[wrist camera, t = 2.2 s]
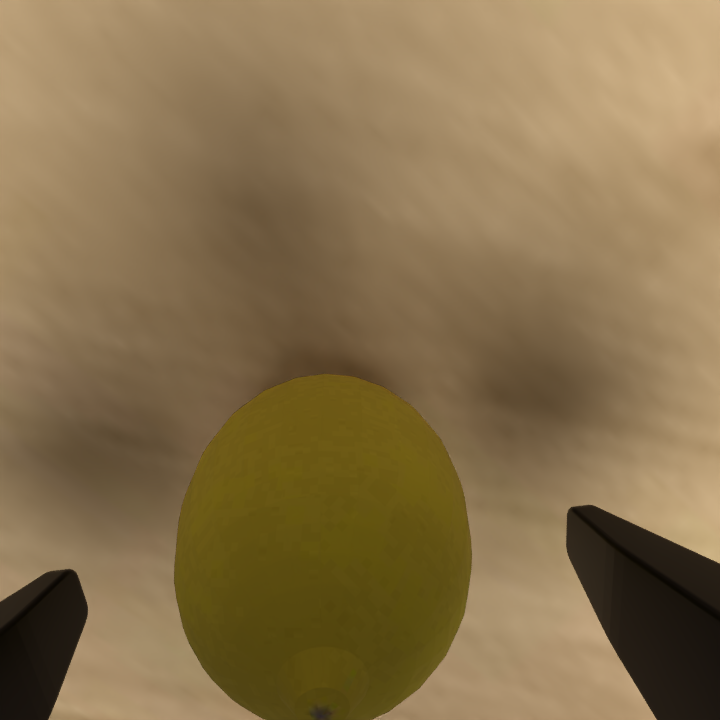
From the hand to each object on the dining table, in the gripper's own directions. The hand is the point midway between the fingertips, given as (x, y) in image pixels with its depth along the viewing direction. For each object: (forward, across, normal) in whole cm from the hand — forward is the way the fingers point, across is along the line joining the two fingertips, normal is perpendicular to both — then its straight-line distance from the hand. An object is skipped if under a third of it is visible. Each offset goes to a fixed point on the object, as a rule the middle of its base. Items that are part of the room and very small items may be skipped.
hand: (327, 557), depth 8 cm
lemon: (+5, 0, 0) cm, 5 cm away
